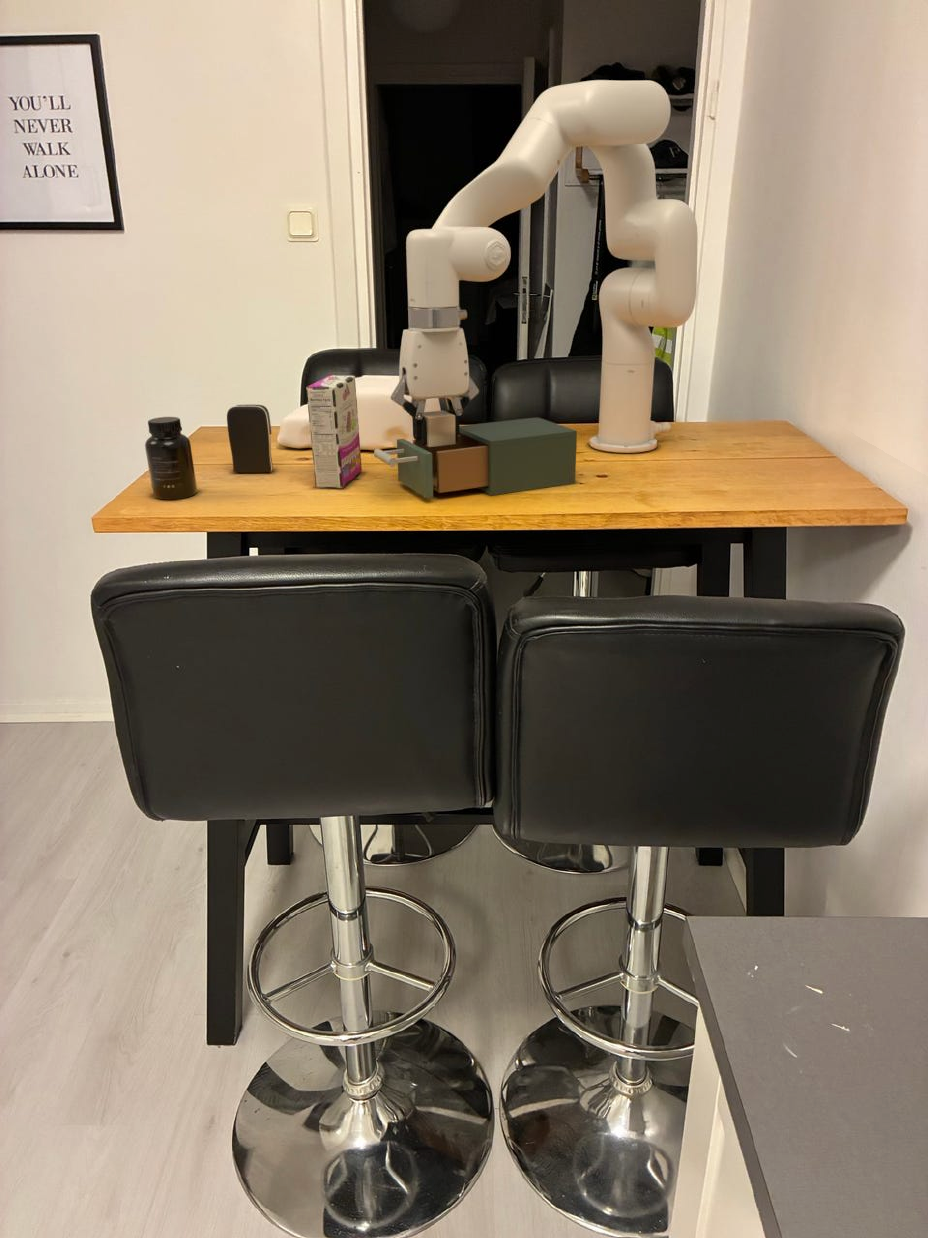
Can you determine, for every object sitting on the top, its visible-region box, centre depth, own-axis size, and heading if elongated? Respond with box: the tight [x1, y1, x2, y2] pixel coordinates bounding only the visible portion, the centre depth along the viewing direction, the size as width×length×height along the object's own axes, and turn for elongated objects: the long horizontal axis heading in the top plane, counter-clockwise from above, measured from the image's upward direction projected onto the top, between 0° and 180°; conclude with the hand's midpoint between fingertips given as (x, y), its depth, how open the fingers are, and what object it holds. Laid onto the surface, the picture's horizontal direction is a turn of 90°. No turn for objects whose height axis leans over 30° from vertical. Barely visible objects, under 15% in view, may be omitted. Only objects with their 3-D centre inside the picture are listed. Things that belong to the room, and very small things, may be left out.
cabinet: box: [459, 417, 578, 497], centre depth 148 cm, size 16×13×9 cm
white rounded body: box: [276, 374, 442, 451], centre depth 175 cm, size 19×30×13 cm, turn 79°
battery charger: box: [226, 404, 274, 474], centre depth 155 cm, size 7×4×11 cm, turn 88°
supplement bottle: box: [144, 416, 198, 501], centre depth 142 cm, size 7×7×12 cm
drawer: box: [373, 434, 489, 499], centre depth 143 cm, size 19×11×7 cm, turn 116°
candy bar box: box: [305, 374, 363, 490], centre depth 148 cm, size 11×5×16 cm, turn 169°
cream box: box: [424, 410, 456, 447], centre depth 140 cm, size 4×4×4 cm
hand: (436, 440), depth 141 cm, fingers closed on cream box, 4 cm apart
